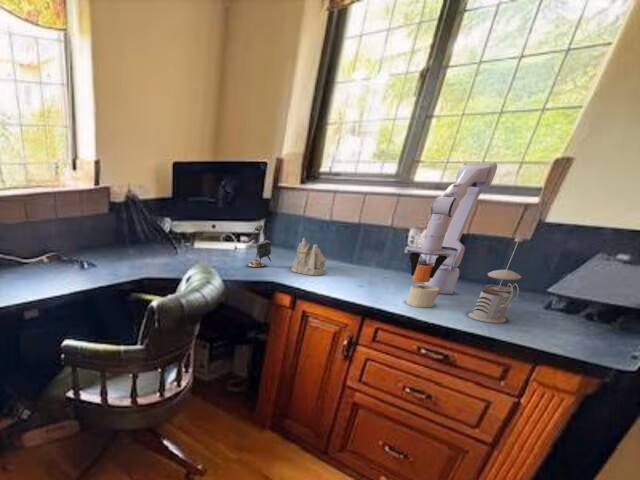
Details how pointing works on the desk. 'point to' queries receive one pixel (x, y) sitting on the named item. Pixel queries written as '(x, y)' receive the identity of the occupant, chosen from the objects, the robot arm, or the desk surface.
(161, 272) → the desk surface
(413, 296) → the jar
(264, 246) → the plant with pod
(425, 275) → the cup
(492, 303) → the french press
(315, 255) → the ceramic cottage
